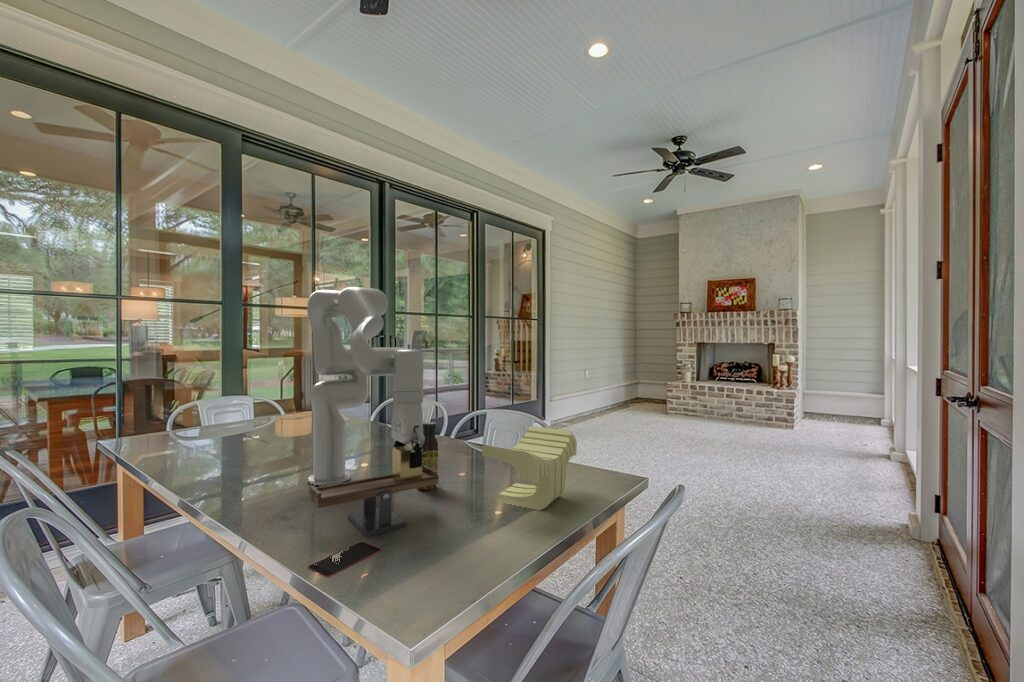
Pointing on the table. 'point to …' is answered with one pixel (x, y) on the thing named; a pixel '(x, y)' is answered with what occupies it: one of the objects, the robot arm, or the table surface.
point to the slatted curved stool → (536, 466)
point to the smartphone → (344, 559)
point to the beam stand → (377, 515)
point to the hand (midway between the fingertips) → (407, 462)
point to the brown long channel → (367, 488)
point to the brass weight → (403, 465)
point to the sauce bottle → (429, 450)
